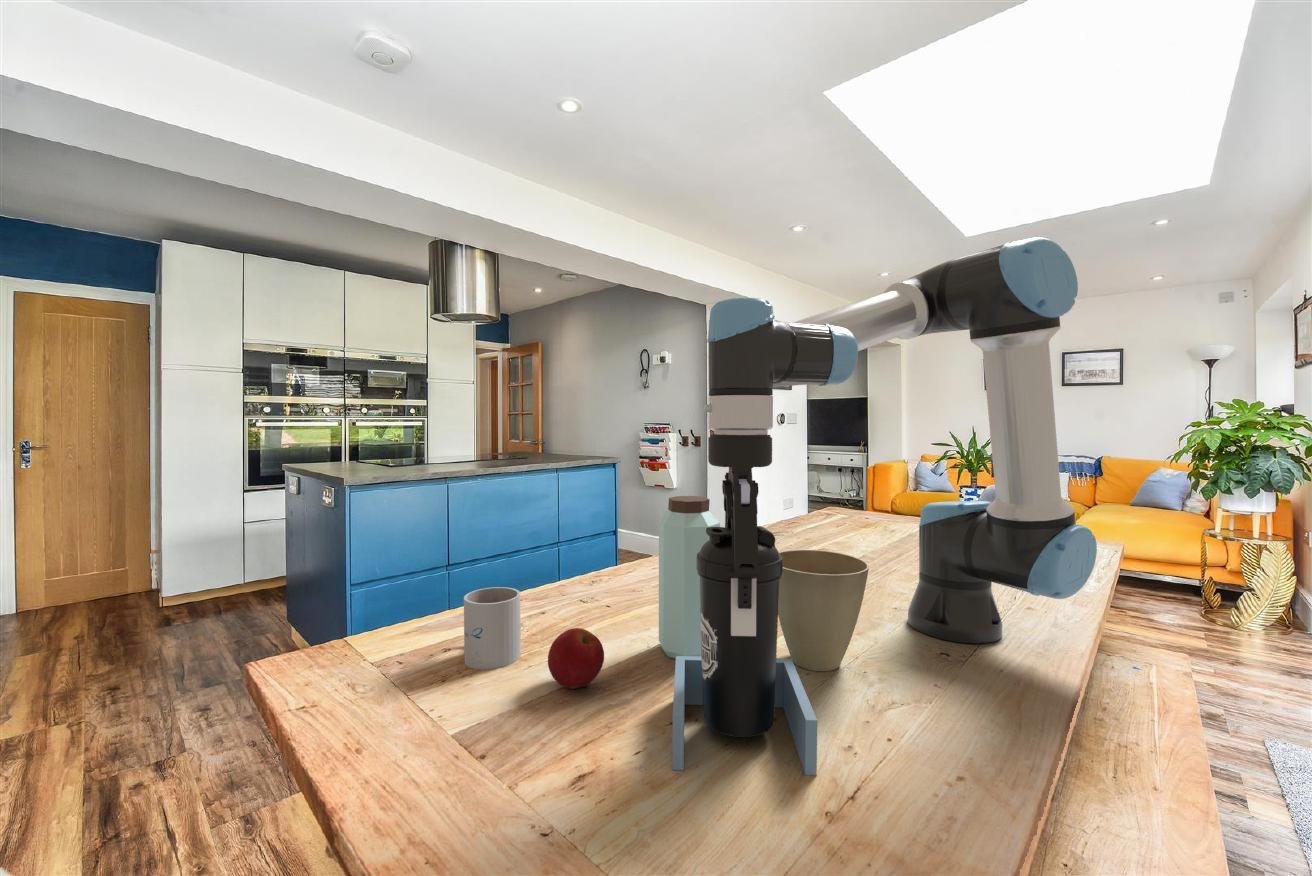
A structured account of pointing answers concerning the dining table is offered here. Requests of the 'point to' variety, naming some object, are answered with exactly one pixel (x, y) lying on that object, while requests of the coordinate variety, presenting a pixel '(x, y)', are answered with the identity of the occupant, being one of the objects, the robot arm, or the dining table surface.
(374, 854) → the dining table surface
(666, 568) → the water bottle
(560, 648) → the apple
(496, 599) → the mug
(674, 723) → the u rest
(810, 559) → the plant pot
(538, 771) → the dining table surface
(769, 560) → the water bottle
